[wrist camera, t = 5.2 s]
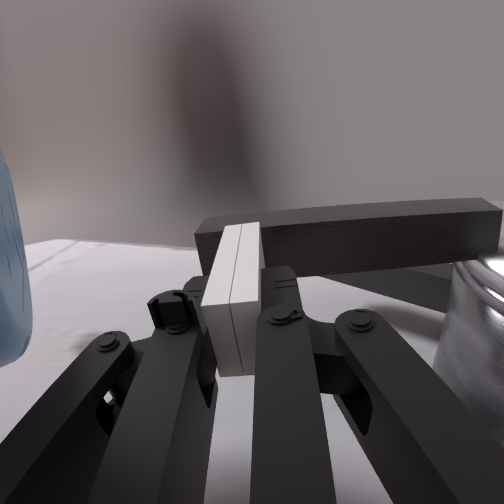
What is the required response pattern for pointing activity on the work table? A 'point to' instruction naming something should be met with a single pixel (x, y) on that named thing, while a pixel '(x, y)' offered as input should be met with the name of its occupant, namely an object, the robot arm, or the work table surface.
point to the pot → (454, 330)
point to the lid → (374, 237)
